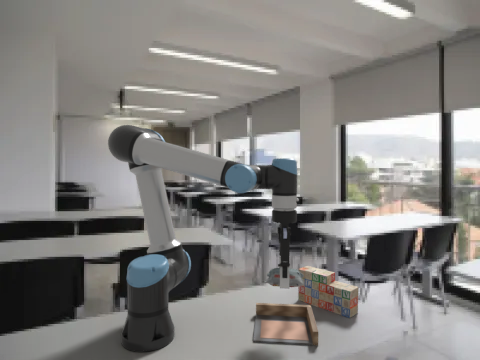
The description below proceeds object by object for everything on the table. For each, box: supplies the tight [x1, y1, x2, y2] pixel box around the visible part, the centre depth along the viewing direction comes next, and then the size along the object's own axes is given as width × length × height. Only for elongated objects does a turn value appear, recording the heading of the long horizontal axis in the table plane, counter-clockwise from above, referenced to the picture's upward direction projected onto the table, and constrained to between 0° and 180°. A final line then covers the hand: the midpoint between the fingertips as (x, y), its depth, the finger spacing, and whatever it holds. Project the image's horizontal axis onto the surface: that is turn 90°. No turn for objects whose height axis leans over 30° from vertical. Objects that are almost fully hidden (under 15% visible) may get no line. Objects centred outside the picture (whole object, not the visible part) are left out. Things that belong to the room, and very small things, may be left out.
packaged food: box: [263, 267, 304, 288], centre depth 99 cm, size 9×12×5 cm
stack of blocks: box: [297, 265, 359, 319], centre depth 119 cm, size 21×6×12 cm, turn 44°
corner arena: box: [252, 302, 319, 347], centre depth 102 cm, size 18×18×4 cm
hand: (283, 282), depth 99 cm, fingers closed on packaged food, 9 cm apart
